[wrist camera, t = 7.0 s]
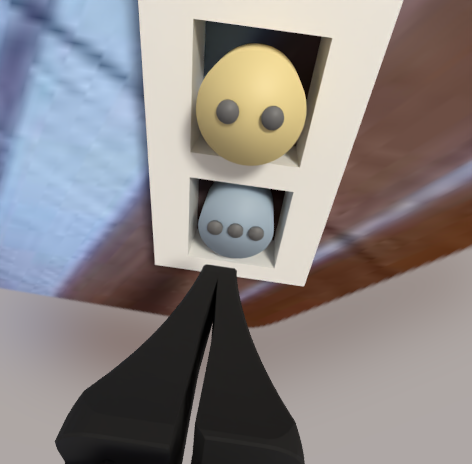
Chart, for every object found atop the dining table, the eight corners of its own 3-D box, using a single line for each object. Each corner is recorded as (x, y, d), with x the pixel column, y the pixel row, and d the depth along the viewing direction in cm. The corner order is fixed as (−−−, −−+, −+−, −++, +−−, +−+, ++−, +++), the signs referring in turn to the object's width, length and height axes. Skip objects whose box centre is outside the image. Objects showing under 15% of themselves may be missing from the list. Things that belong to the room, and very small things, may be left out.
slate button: (267, 234, 22) (266, 265, 19) (205, 225, 22) (196, 254, 19) (279, 177, 19) (280, 204, 16) (208, 167, 19) (198, 192, 16)
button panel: (300, 256, 23) (303, 286, 20) (167, 237, 23) (155, 264, 20) (462, -264, 10) (526, -354, 7) (151, -304, 10) (112, -405, 7)
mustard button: (289, 147, 16) (293, 174, 13) (205, 135, 16) (193, 160, 13) (311, 50, 13) (320, 60, 11) (211, 36, 13) (196, 43, 11)
